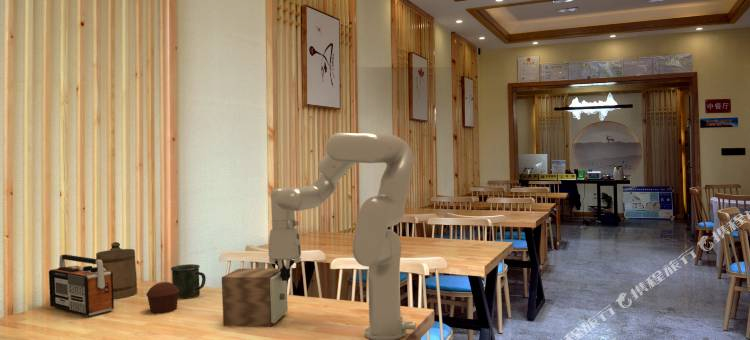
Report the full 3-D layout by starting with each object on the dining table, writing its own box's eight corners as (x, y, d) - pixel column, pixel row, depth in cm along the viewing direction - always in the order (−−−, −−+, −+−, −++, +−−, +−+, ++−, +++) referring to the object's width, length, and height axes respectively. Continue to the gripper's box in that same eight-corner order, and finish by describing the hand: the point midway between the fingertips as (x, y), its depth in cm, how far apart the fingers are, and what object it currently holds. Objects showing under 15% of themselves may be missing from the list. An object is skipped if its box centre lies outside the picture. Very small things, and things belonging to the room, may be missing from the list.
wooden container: (97, 294, 228) (95, 242, 228) (135, 289, 235) (133, 238, 235) (98, 301, 215) (95, 246, 215) (138, 296, 222) (136, 242, 222)
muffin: (165, 315, 191) (163, 287, 191) (139, 313, 195) (138, 286, 195) (186, 306, 202) (185, 280, 202) (162, 305, 206) (161, 279, 206)
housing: (284, 314, 188) (282, 268, 188) (270, 326, 174) (268, 277, 174) (240, 314, 190) (238, 268, 190) (223, 326, 176) (221, 277, 176)
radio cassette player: (48, 308, 207) (46, 256, 206) (76, 302, 215) (74, 252, 215) (88, 319, 190) (86, 262, 190) (116, 312, 199) (114, 257, 198)
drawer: (291, 311, 187) (289, 270, 187) (278, 322, 174) (276, 278, 174) (243, 310, 190) (241, 270, 190) (227, 322, 176) (225, 278, 176)
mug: (183, 292, 226) (182, 263, 226) (213, 294, 221) (212, 264, 221) (165, 299, 215) (164, 269, 215) (197, 300, 211) (196, 270, 211)
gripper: (308, 223, 183) (310, 277, 183) (265, 224, 185) (268, 277, 185) (302, 226, 175) (304, 282, 176) (257, 226, 177) (260, 282, 178)
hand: (285, 279), depth 180 cm, fingers closed
